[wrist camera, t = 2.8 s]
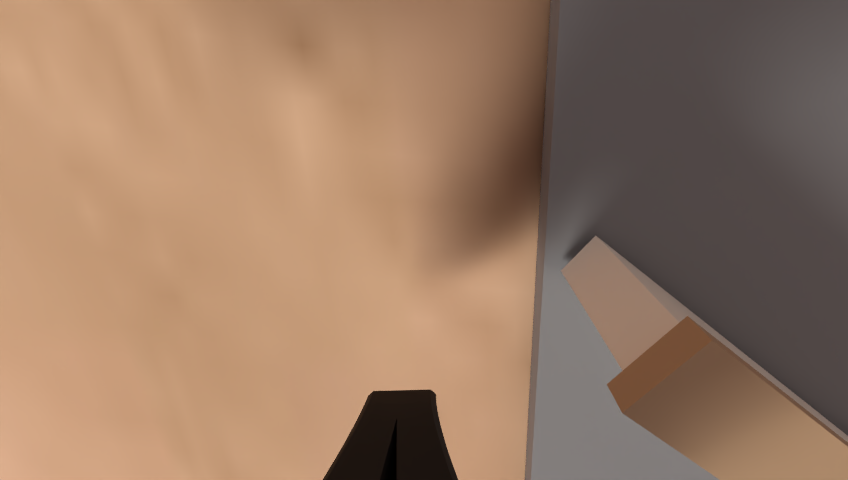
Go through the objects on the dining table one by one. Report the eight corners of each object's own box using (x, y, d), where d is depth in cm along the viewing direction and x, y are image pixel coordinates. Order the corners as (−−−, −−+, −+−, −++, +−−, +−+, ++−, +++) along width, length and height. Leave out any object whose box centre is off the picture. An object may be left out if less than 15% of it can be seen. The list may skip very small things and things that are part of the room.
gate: (907, 470, 13) (1173, 697, 8) (853, 502, 13) (1073, 731, 9) (592, 216, 10) (728, 344, 5) (540, 270, 11) (622, 427, 6)
